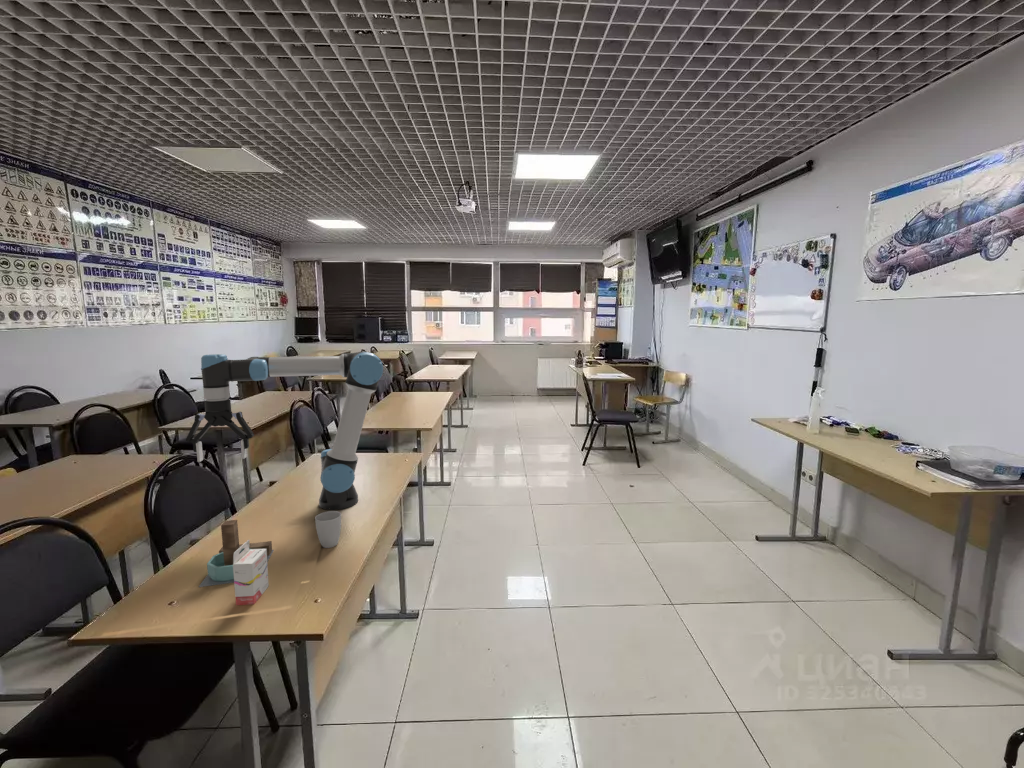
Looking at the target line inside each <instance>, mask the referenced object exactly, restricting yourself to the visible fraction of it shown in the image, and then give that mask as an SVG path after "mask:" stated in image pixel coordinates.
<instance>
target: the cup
mask: <svg viewBox="0 0 1024 768" xmlns="http://www.w3.org/2000/svg"><path fill="white" fill-rule="evenodd" d="M314 520H315V521H314V523H315V529H316V530H315V531H316V533H317V537H318V542H319V543H320V546H321V547H322V548H323V549H324V548H326V549H329V548H330V549H331V548H334V547H336V546H337V545H338V544H339V541H340V537H341V528H342V512H340V511H338V510H328V511H324V512H320V513H319V514H317V515H315V517H314Z"/></svg>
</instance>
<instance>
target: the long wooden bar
mask: <svg viewBox="0 0 1024 768" xmlns="http://www.w3.org/2000/svg"><path fill="white" fill-rule="evenodd" d="M243 544H244V543H243ZM243 544H240V543H239V548H240V547H241V546H242V545H243ZM249 548H250V549H267V555H270V554H271V552H272V550H273V543H272V540H269V541H268V540H267V541H260V542H259V541H258V542H251V543H250V542H249ZM221 552H223V546H222V547H220V549H219V551H218V554H219V553H221Z"/></svg>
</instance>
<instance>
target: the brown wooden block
mask: <svg viewBox="0 0 1024 768" xmlns="http://www.w3.org/2000/svg"><path fill="white" fill-rule="evenodd" d="M220 527H221V529H220V530H221V539H222V547H223V554H224V565H225V566H228V565H233V554H234V552H235V551H236V550H237V549H238V548H239V545H240V539H239V538H240V537H239V527H238V519H234V520H233V519H232V520H230V519H229V520H224V521H223V523H221V524H220ZM239 554H240V552H239Z"/></svg>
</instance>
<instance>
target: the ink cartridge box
mask: <svg viewBox="0 0 1024 768" xmlns="http://www.w3.org/2000/svg"><path fill="white" fill-rule="evenodd" d="M249 543H250V539H247V541H245V542H243V545H242V546H241V547H240V548H238V549H237V550H236V551H235V552H234V554H233V573H234V596H235V597H234V598H235V606H243V605H244V606H245V605H246V606H247V605H255V604H256V603H257V601H259V599H260V598H261V596H262V595H263V594H264V593H265V591H266V590H267V589H268V588H269V569H268V562H267V549H250V550H249ZM243 548H244V550H243V551H242V552H241V553H240V554H239V552H240V551H241V549H243Z"/></svg>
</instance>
